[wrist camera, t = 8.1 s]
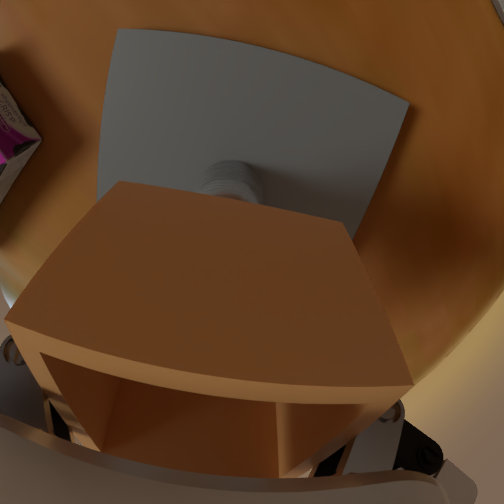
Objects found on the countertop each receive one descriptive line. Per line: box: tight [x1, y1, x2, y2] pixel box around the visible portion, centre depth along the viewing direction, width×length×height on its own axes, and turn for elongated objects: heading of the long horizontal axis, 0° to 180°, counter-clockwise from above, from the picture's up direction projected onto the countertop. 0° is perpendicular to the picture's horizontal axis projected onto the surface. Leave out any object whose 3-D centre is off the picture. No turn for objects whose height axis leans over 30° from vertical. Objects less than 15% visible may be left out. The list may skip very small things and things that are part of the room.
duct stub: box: [195, 160, 264, 205], centre depth 15 cm, size 4×4×8 cm
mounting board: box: [97, 29, 409, 240], centre depth 19 cm, size 18×18×2 cm
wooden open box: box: [4, 180, 414, 478], centre depth 10 cm, size 7×11×6 cm, turn 168°
